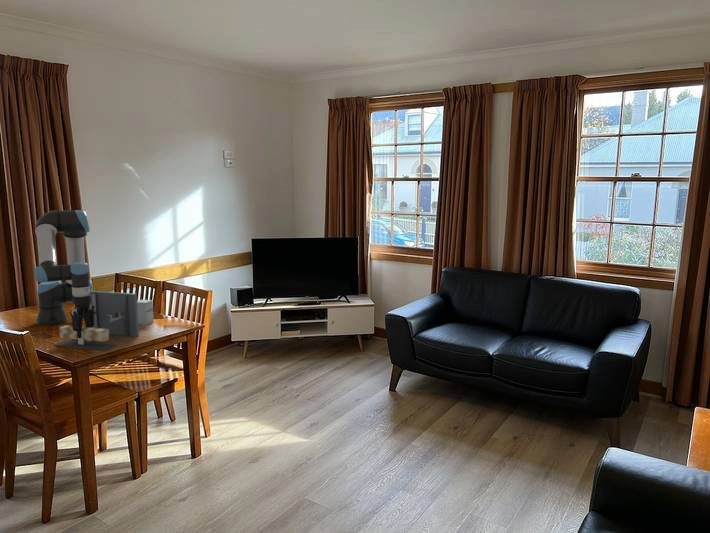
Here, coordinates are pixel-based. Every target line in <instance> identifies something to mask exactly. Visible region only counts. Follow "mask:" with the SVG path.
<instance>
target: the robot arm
mask: <svg viewBox="0 0 710 533" xmlns="http://www.w3.org/2000/svg"><path fill="white" fill-rule="evenodd" d="M87 215H88V214H87V212H86V211H85V210H81V209H80V210H77V209H74V210H73V209H72V210H70V209H68V210H50V211H47V212H45V213H44V214H42V215H41V216H40V217H39V218H38V219H37V221H36V223H35V227H34V232H35V235H36V236H37V248H38V265H39V266H35V267H34V277H35V281H36V282H37V283H39V284H37V291H36V293H37V299H38V300H37V302H38V313H37V318H36V325H37V324H38V325H37V326H40V325H43V326H42V327H47V326H46V325H52V326H57V325H62V324H66V323H68V321H69V320H68V315H66V310H65V309H64V304H68V303H69V304H70V303H73V305H74V308H73V310H70V311H69V313H70V316H71V326H72V327H73V331H76V332H77V338H78V339H77V341H78V344H82V345H84V342H92V340H84V333H83V331H82V327H83V321H84V325H85V326H84V327H91V328H93V326H94V306H92V305H90V304H89V303H90V302H91V297H90V295H89V294H90V291H93V282H92V280H90V269H89V268H90V267H89V264H88V262H86V253H85V251H86V250H85V249H86V248H85V237H87V235H88V233H89V232H91V231H90V225H89V220H88V216H87ZM57 233H58V234H59V233H60V234H61V233H62V236H63V237H64V238H65V243H66V257H67V259H66V260H67V264H60V265H58V257H57V255H58V254H57V244H56V235H57ZM62 281H63V282H62ZM64 281H65V282H64ZM83 317H84V318H83ZM65 322H66V323H65Z"/></svg>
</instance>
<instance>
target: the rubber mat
mask: <svg viewBox="0 0 710 533" xmlns="http://www.w3.org/2000/svg"><path fill="white" fill-rule="evenodd" d="M53 346H54V347H61V348H73V349H83V350H94V351H103V352H105V351H108V350H110V349H112V348H115V347H116V346H117V344H113V343H103V342H95V341H94V342H93V341H91V342H87V341H84V345H82V344H78V340H72V339H65V340H63V341H62V340H61V341H60V342H57V343H55V344H53Z"/></svg>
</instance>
